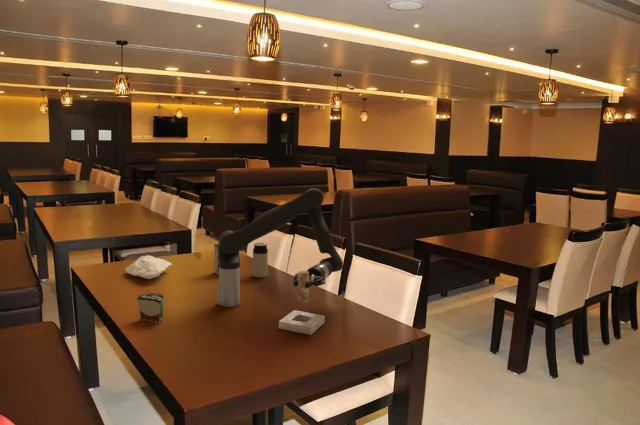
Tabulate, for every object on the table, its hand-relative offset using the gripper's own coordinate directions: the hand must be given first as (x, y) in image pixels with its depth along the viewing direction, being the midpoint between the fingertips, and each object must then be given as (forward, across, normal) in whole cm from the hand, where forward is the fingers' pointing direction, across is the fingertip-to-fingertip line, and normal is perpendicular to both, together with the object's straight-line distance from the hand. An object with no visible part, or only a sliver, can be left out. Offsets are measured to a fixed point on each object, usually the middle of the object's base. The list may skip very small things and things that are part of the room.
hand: (300, 284), depth 188 cm
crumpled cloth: (-29, -102, +18) cm, 107 cm away
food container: (+18, -57, +18) cm, 63 cm away
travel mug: (-56, -50, +18) cm, 77 cm away
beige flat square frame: (-3, 0, +18) cm, 18 cm away
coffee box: (-51, -70, +18) cm, 88 cm away
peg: (-3, 0, +8) cm, 8 cm away
